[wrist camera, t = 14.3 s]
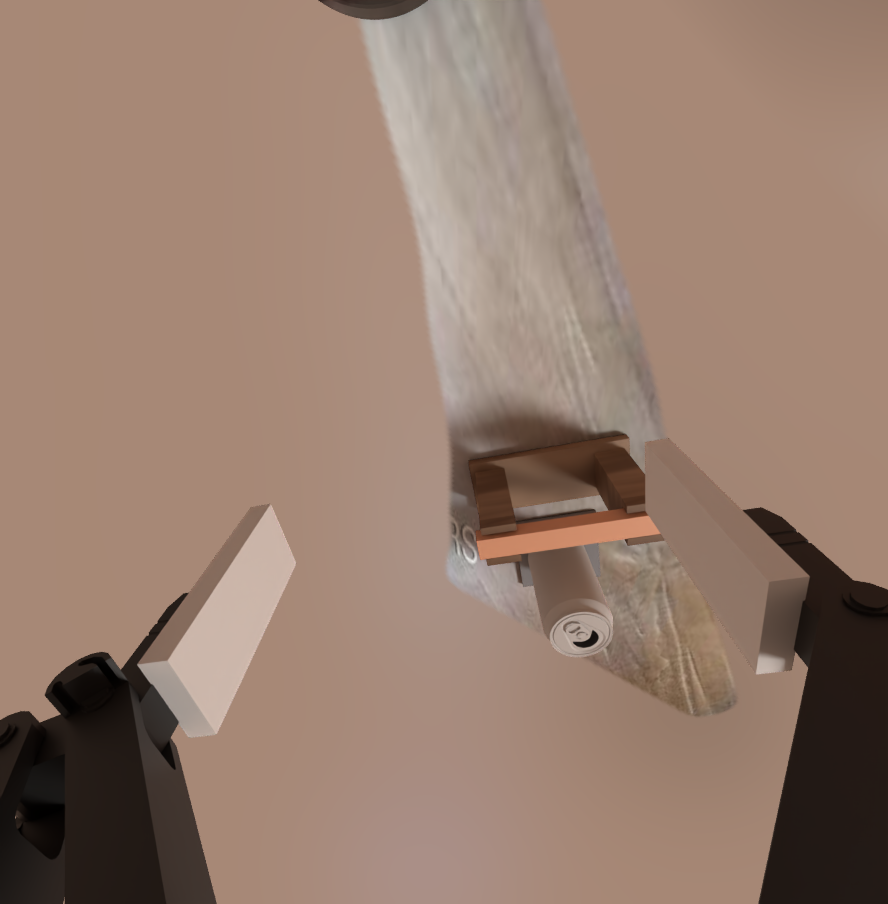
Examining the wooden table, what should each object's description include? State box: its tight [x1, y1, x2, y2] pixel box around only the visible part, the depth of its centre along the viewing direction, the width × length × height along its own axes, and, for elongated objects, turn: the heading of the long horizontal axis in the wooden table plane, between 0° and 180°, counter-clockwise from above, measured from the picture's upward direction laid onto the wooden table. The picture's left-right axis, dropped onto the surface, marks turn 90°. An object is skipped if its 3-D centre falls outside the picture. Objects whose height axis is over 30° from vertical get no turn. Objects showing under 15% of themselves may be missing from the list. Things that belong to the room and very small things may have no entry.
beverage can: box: [528, 545, 613, 657], centre depth 46 cm, size 6×6×12 cm
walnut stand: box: [469, 434, 664, 566], centre depth 43 cm, size 6×16×11 cm, turn 101°
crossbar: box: [476, 508, 661, 560], centre depth 39 cm, size 2×16×2 cm, turn 101°
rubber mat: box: [516, 510, 600, 587], centre depth 52 cm, size 9×9×1 cm
